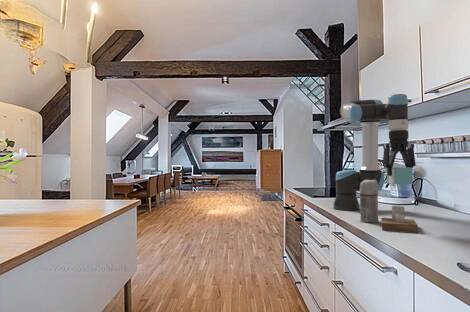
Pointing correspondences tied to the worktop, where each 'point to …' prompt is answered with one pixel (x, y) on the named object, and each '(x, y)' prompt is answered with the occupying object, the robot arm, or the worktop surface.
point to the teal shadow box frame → (402, 175)
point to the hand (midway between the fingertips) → (399, 183)
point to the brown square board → (399, 221)
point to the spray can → (369, 201)
